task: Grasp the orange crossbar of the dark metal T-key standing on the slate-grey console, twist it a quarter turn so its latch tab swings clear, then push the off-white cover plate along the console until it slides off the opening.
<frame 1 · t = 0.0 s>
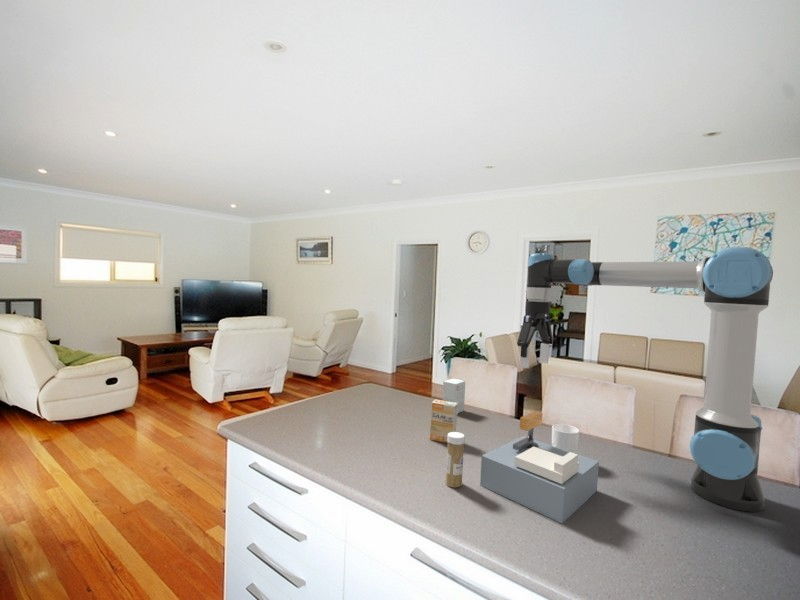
hand: (534, 365, 129), 28 cm above the kitchen island, fingers open, 13 cm apart
sprinkles bottle: (453, 484, 104), on the kitchen island
cover: (546, 459, 97), point 11 cm above the kitchen island, slide at 0.0 cm
white cup: (563, 460, 122), on the kitchen island
supplement box: (442, 440, 134), on the kitchen island
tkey: (527, 430, 111), point 13 cm above the kitchen island, hinge at 0.0°
small box: (453, 411, 165), on the kitchen island
console: (538, 488, 104), on the kitchen island
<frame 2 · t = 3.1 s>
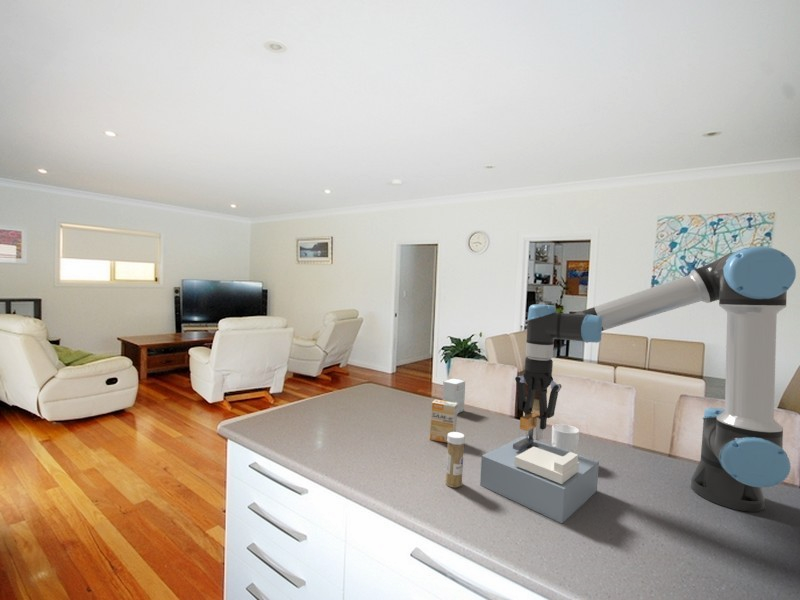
hand: (534, 437, 114), 10 cm above the kitchen island, fingers closed on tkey, 2 cm apart
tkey: (527, 430, 111), point 13 cm above the kitchen island, hinge at 0.0°, touching gripper
everything else where it was.
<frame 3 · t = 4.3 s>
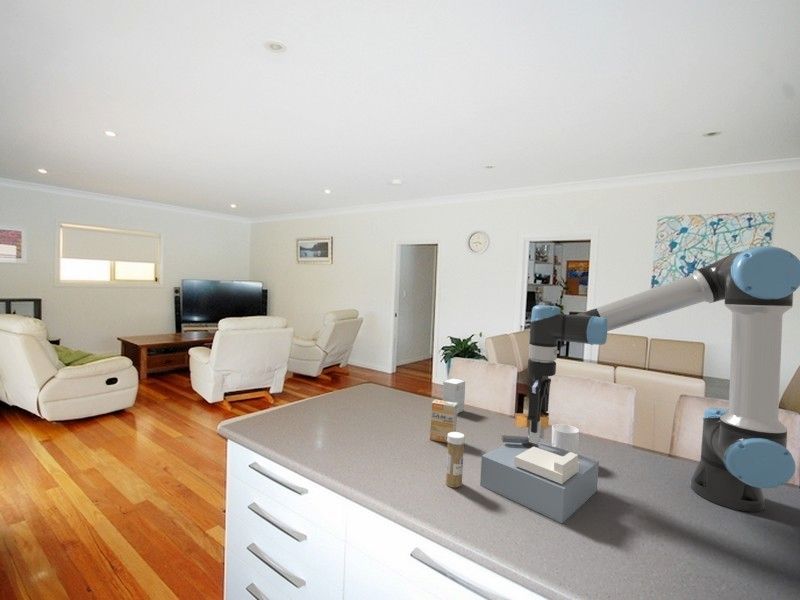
hand: (536, 439, 112), 10 cm above the kitchen island, fingers closed on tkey, 4 cm apart
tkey: (524, 428, 112), point 13 cm above the kitchen island, hinge at 46.3°, touching gripper
everything else where it was.
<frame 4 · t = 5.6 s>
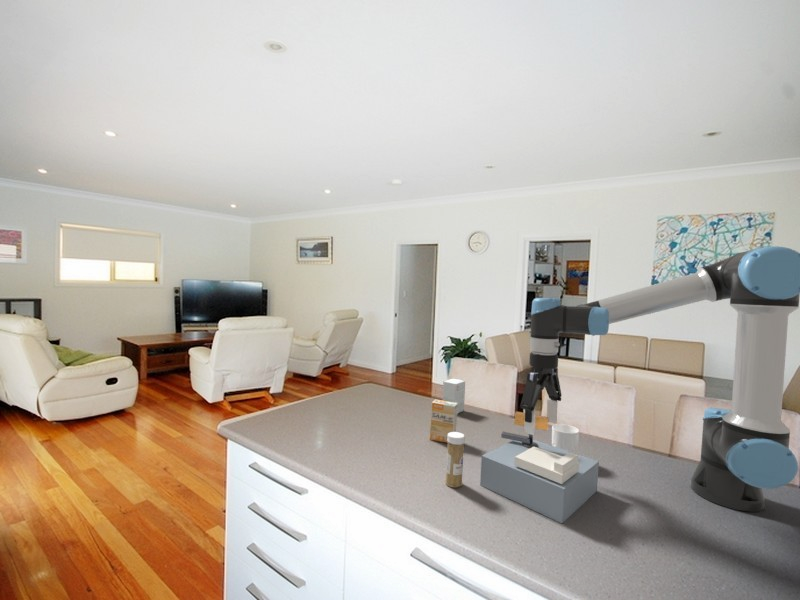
hand: (540, 427, 110), 14 cm above the kitchen island, fingers open, 13 cm apart
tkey: (524, 427, 113), point 13 cm above the kitchen island, hinge at 70.5°
everything else where it was.
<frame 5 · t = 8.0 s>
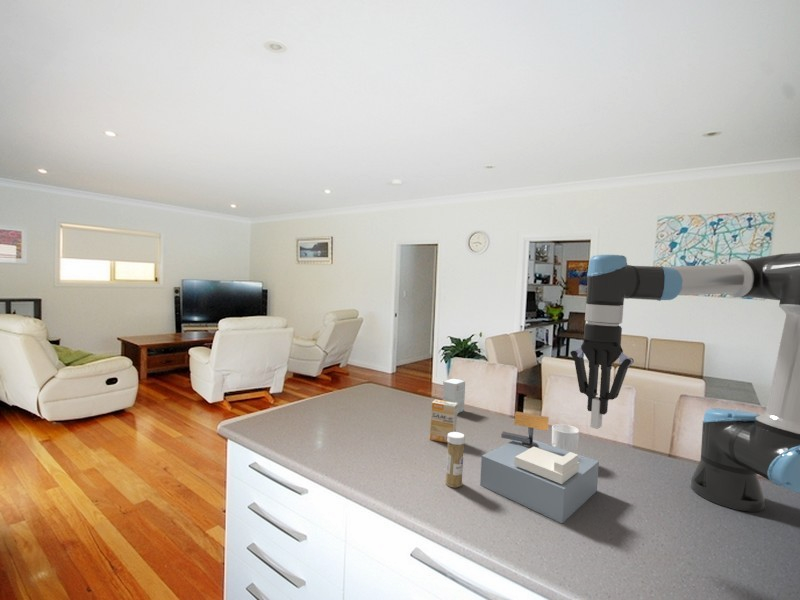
hand: (596, 426, 89), 22 cm above the kitchen island, fingers closed
nothing on the kitchen island moved.
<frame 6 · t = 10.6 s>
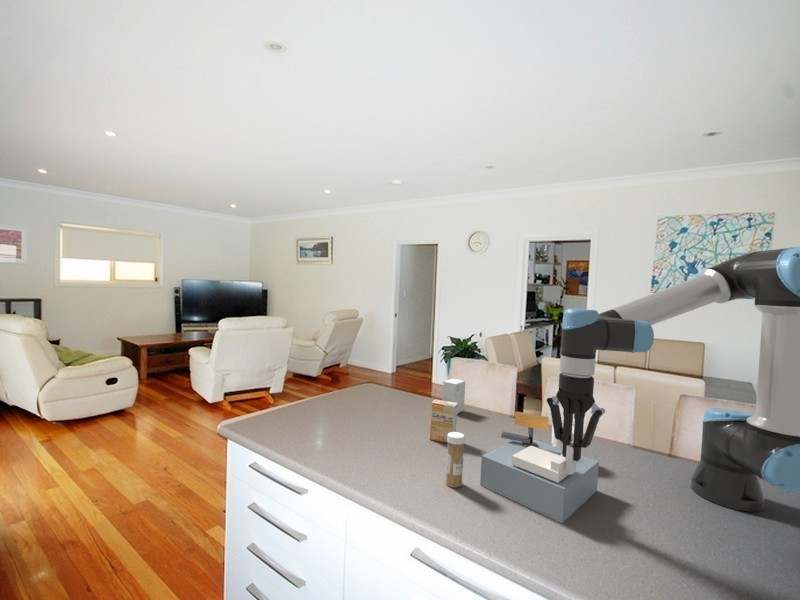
hand: (570, 471, 93), 10 cm above the kitchen island, fingers closed
cover: (543, 458, 98), point 11 cm above the kitchen island, slide at 0.8 cm, touching gripper
everything else where it was.
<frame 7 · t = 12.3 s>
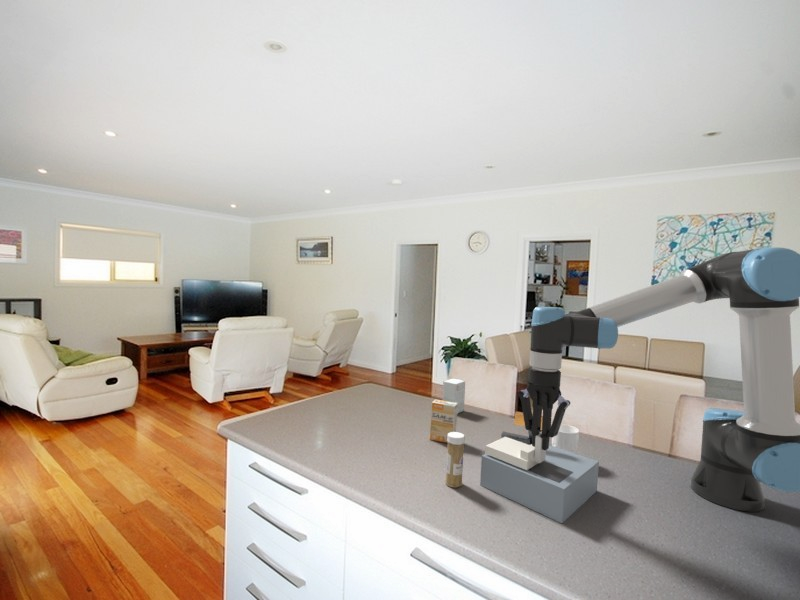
hand: (539, 460, 99), 10 cm above the kitchen island, fingers closed
cover: (515, 448, 103), point 11 cm above the kitchen island, slide at 8.6 cm, touching gripper
everything else where it was.
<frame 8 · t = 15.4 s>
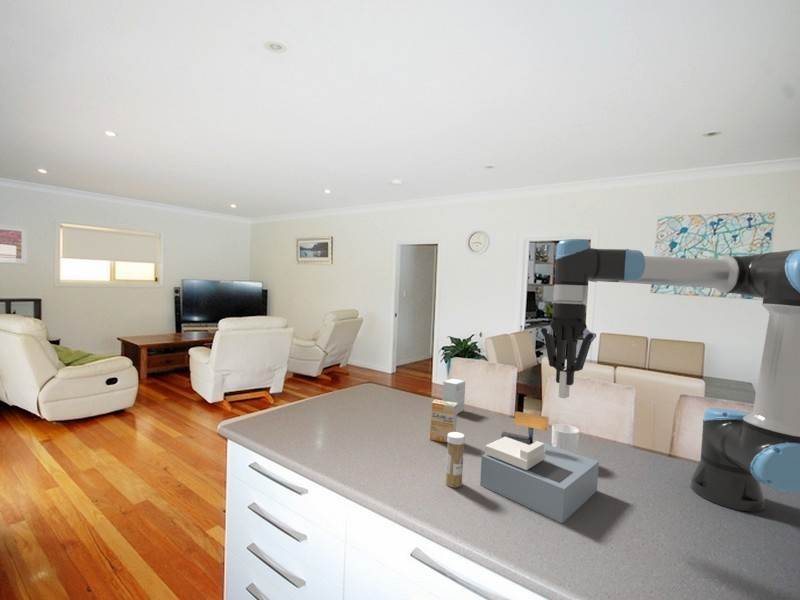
hand: (563, 396, 97), 26 cm above the kitchen island, fingers closed
cover: (515, 448, 103), point 11 cm above the kitchen island, slide at 8.7 cm
everything else where it was.
at the end: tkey at +71° (first picture: +0°); cover slide at 8.7 cm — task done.
